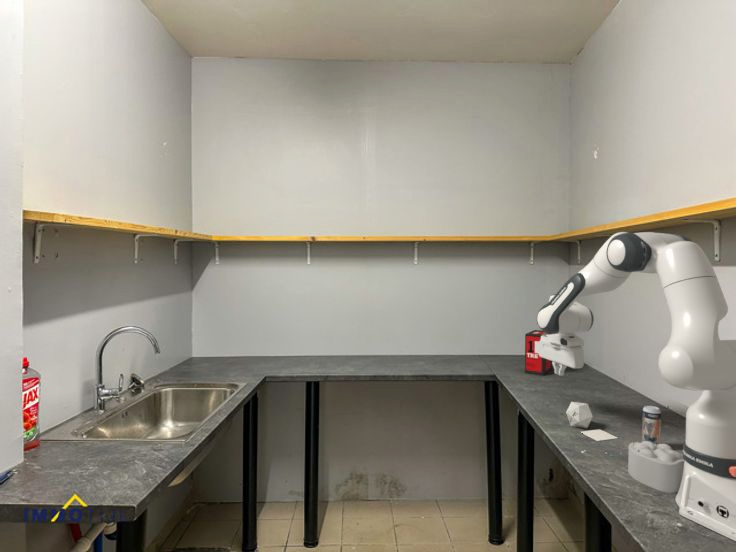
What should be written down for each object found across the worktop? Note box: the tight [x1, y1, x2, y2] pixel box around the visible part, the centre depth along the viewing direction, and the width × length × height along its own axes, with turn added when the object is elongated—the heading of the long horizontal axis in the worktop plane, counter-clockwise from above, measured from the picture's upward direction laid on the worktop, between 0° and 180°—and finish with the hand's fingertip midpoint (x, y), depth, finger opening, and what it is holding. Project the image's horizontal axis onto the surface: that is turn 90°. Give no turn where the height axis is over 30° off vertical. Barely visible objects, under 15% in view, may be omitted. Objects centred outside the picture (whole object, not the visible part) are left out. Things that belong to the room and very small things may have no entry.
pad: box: [580, 428, 619, 442], centre depth 143 cm, size 8×8×1 cm
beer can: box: [641, 405, 662, 445], centre depth 134 cm, size 5×5×12 cm
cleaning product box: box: [524, 329, 553, 377], centre depth 226 cm, size 16×9×20 cm, turn 143°
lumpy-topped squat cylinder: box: [627, 441, 684, 494], centre depth 115 cm, size 10×13×9 cm
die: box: [565, 401, 594, 429], centre depth 151 cm, size 8×9×10 cm
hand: (559, 374), depth 161 cm, fingers closed
